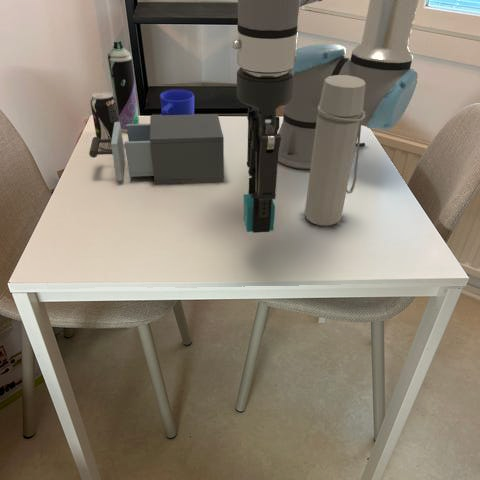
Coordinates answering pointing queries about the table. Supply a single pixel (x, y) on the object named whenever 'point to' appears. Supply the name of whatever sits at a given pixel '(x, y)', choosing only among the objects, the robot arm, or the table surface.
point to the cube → (249, 213)
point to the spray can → (123, 85)
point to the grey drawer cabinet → (187, 148)
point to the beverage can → (104, 116)
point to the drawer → (128, 150)
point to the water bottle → (334, 148)
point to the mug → (177, 102)
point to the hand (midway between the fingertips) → (258, 222)
